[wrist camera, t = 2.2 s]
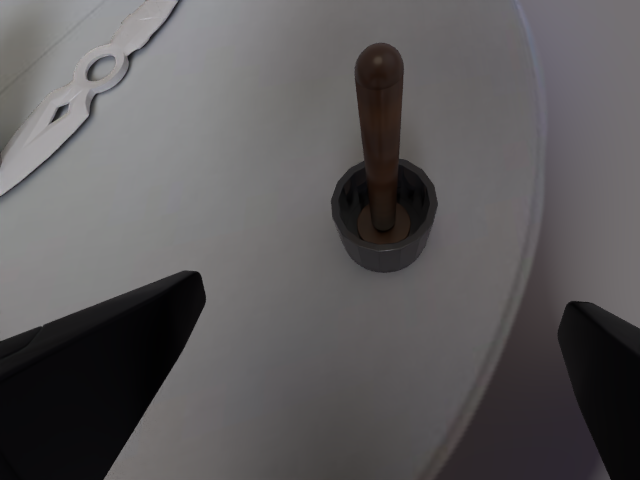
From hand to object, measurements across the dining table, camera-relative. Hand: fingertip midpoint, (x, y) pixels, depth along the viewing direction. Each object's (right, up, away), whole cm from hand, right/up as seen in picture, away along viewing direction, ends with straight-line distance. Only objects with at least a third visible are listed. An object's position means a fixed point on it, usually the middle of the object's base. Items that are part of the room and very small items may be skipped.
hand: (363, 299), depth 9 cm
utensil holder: (+3, +2, +14) cm, 14 cm away
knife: (-23, +15, +23) cm, 36 cm away
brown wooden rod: (+3, +2, +13) cm, 14 cm away
